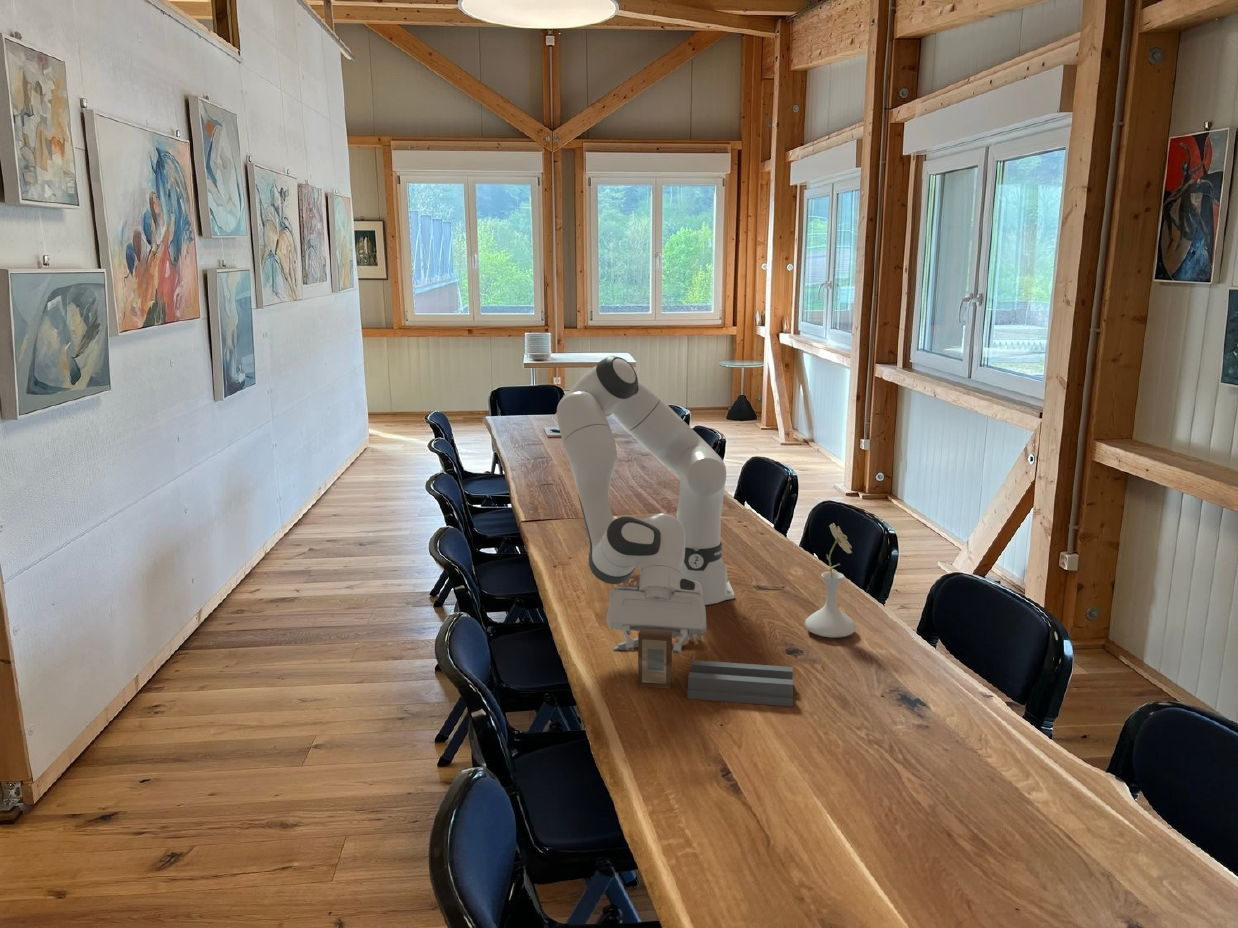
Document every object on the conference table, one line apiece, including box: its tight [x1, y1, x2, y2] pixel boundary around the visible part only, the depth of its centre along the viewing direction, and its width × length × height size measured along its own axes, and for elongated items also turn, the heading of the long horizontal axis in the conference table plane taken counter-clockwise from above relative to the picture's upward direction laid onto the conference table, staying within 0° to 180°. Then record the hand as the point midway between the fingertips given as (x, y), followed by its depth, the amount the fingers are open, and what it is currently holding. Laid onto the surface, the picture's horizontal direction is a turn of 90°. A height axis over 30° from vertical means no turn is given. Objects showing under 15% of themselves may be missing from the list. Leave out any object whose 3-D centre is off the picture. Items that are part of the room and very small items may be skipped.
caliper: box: [612, 633, 702, 652], centre depth 199 cm, size 20×1×6 cm, turn 106°
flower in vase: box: [804, 522, 857, 639], centre depth 205 cm, size 13×11×25 cm
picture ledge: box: [686, 659, 794, 707], centre depth 177 cm, size 10×20×4 cm, turn 80°
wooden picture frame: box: [637, 630, 673, 689], centre depth 179 cm, size 3×6×11 cm, turn 80°
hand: (653, 651), depth 179 cm, fingers open, 8 cm apart
